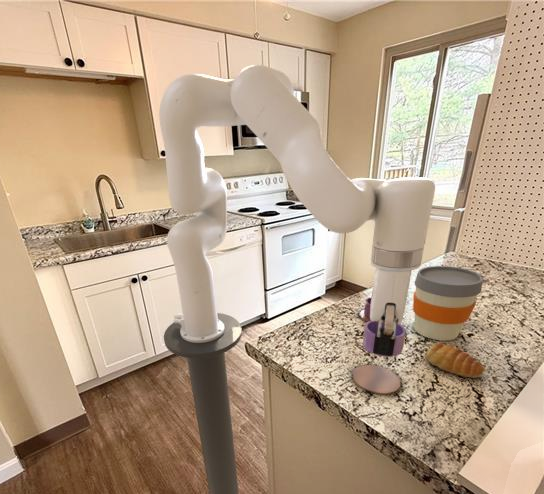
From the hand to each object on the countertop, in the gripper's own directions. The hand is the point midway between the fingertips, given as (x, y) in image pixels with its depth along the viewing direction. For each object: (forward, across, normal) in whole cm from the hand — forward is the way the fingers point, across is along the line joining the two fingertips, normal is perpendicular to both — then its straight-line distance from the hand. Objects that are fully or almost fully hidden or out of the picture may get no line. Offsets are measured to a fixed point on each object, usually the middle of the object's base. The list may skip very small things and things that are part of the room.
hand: (382, 342), depth 60 cm
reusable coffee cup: (+10, -24, +13) cm, 29 cm away
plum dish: (+9, -28, 0) cm, 29 cm away
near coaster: (+9, 0, 0) cm, 9 cm away
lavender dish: (+1, 0, 0) cm, 1 cm away
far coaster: (+9, -28, 0) cm, 29 cm away
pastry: (+10, -10, +14) cm, 20 cm away
